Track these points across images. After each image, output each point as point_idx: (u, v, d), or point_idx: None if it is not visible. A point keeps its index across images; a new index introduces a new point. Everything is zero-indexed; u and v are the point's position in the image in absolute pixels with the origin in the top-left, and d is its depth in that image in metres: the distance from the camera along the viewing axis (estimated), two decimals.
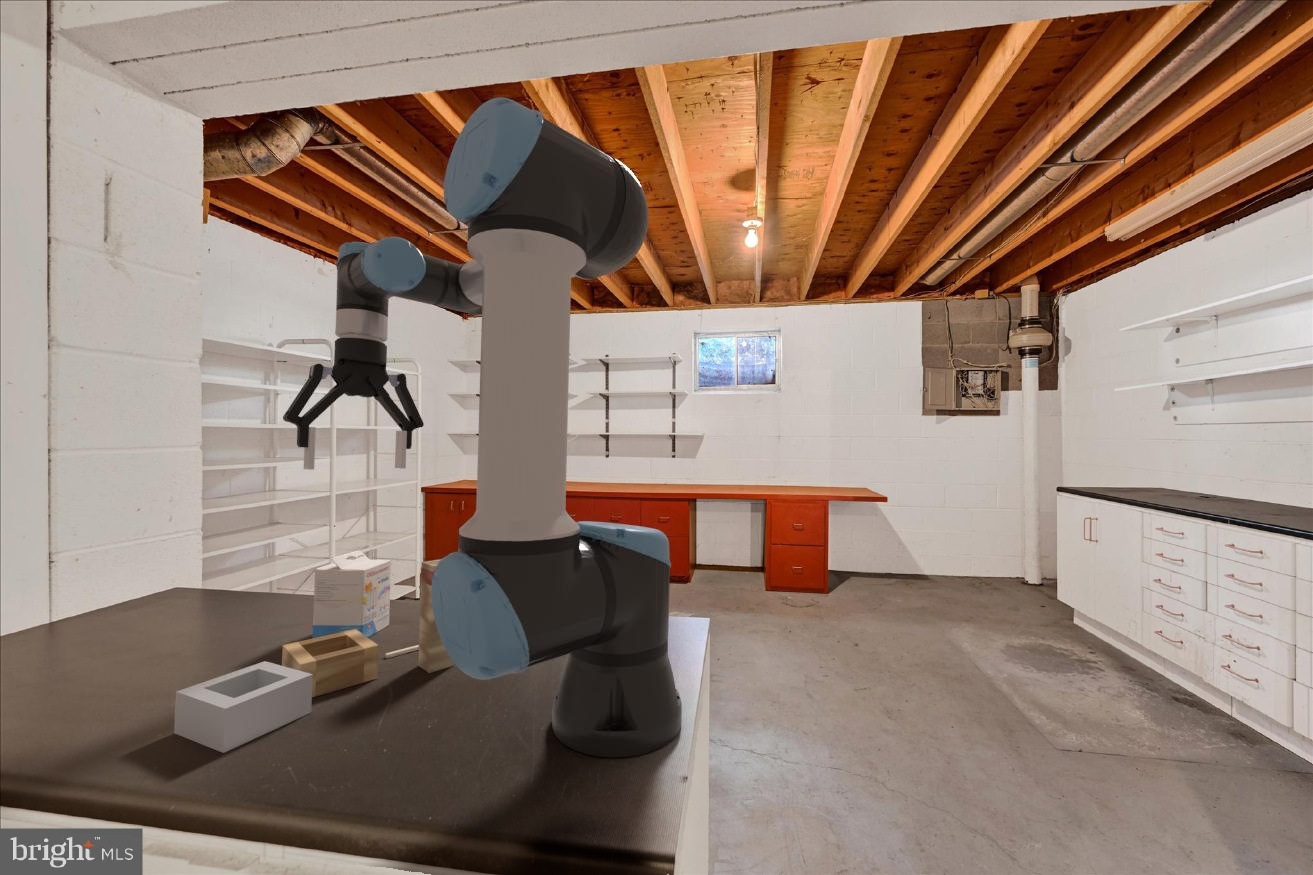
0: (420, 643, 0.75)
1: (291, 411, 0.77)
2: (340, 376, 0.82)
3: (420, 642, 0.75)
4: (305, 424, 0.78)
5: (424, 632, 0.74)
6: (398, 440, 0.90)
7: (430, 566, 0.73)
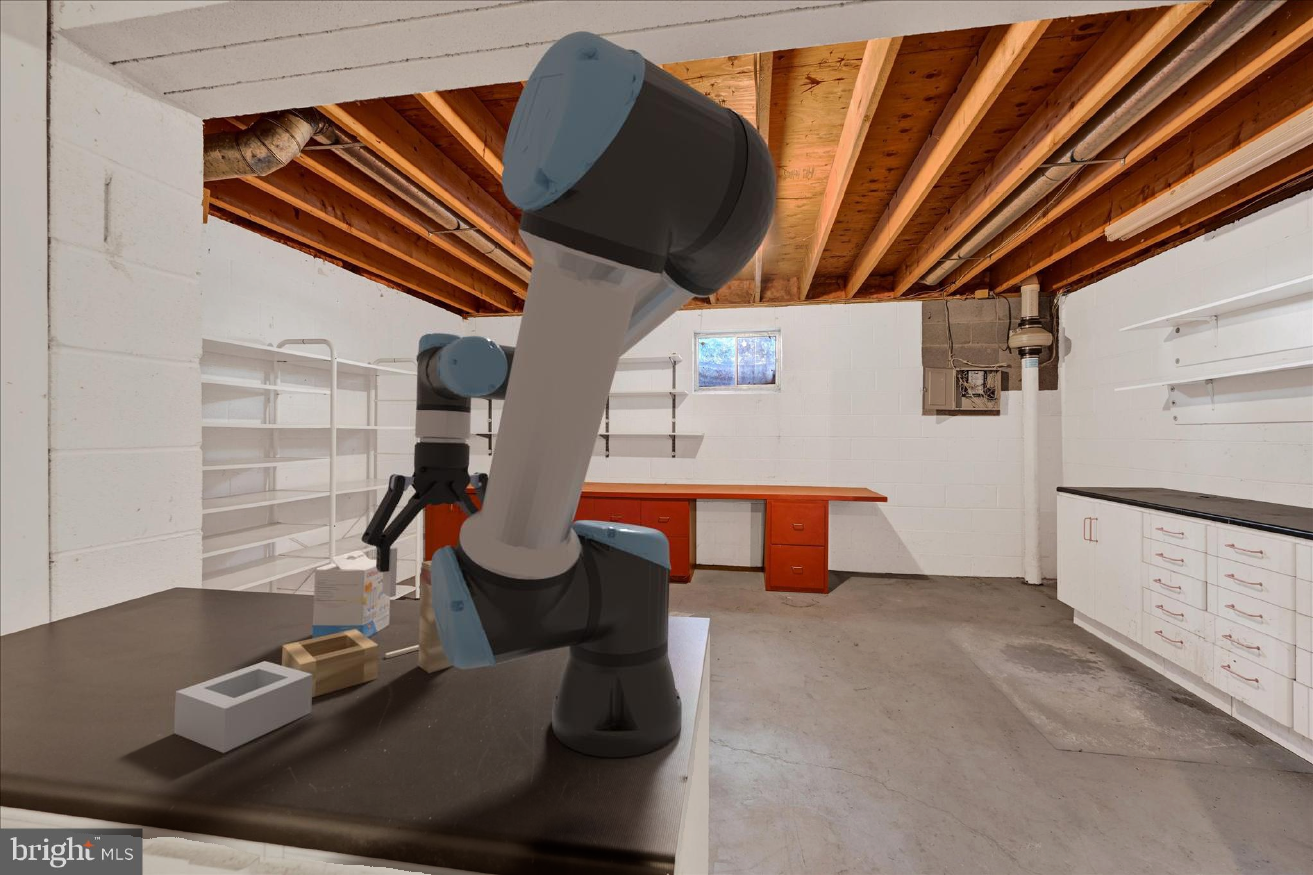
0: (420, 643, 0.75)
1: (372, 534, 0.68)
2: (422, 486, 0.73)
3: (420, 642, 0.75)
4: (386, 546, 0.69)
5: (424, 632, 0.74)
6: None
7: (430, 566, 0.73)
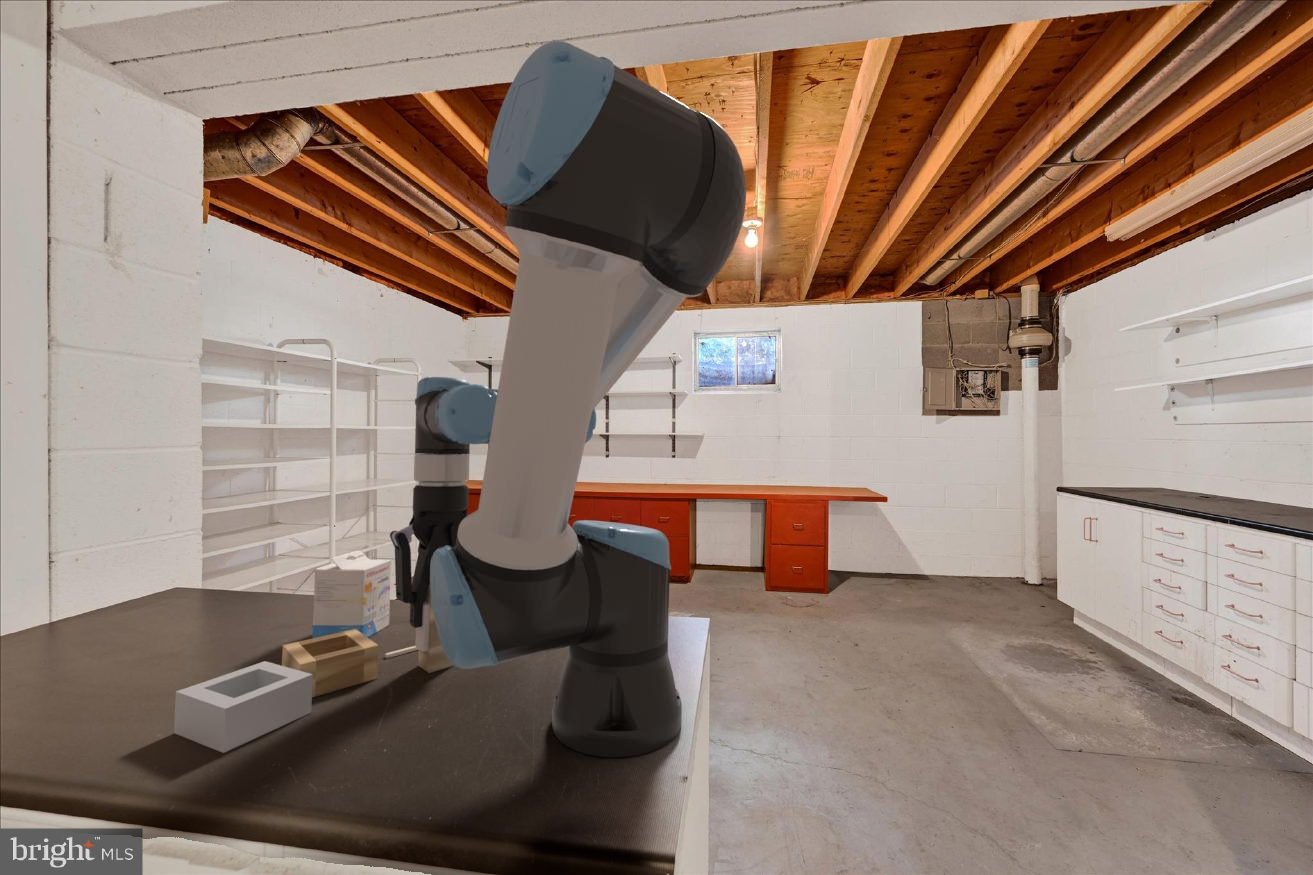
0: None
1: (403, 593, 0.70)
2: (424, 530, 0.73)
3: None
4: (421, 602, 0.72)
5: None
6: None
7: None
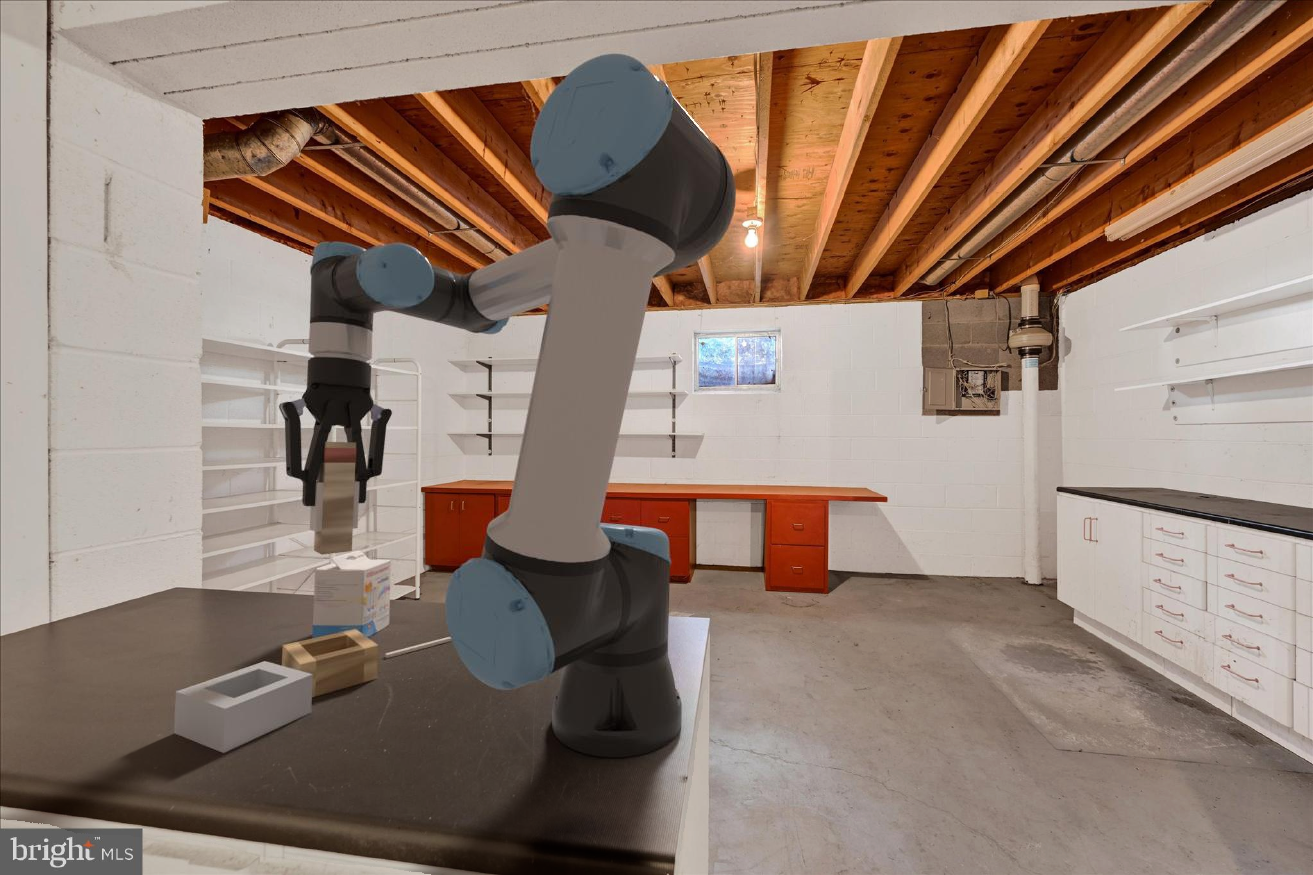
0: None
1: (292, 467, 0.66)
2: (317, 403, 0.68)
3: None
4: (313, 479, 0.68)
5: None
6: None
7: None
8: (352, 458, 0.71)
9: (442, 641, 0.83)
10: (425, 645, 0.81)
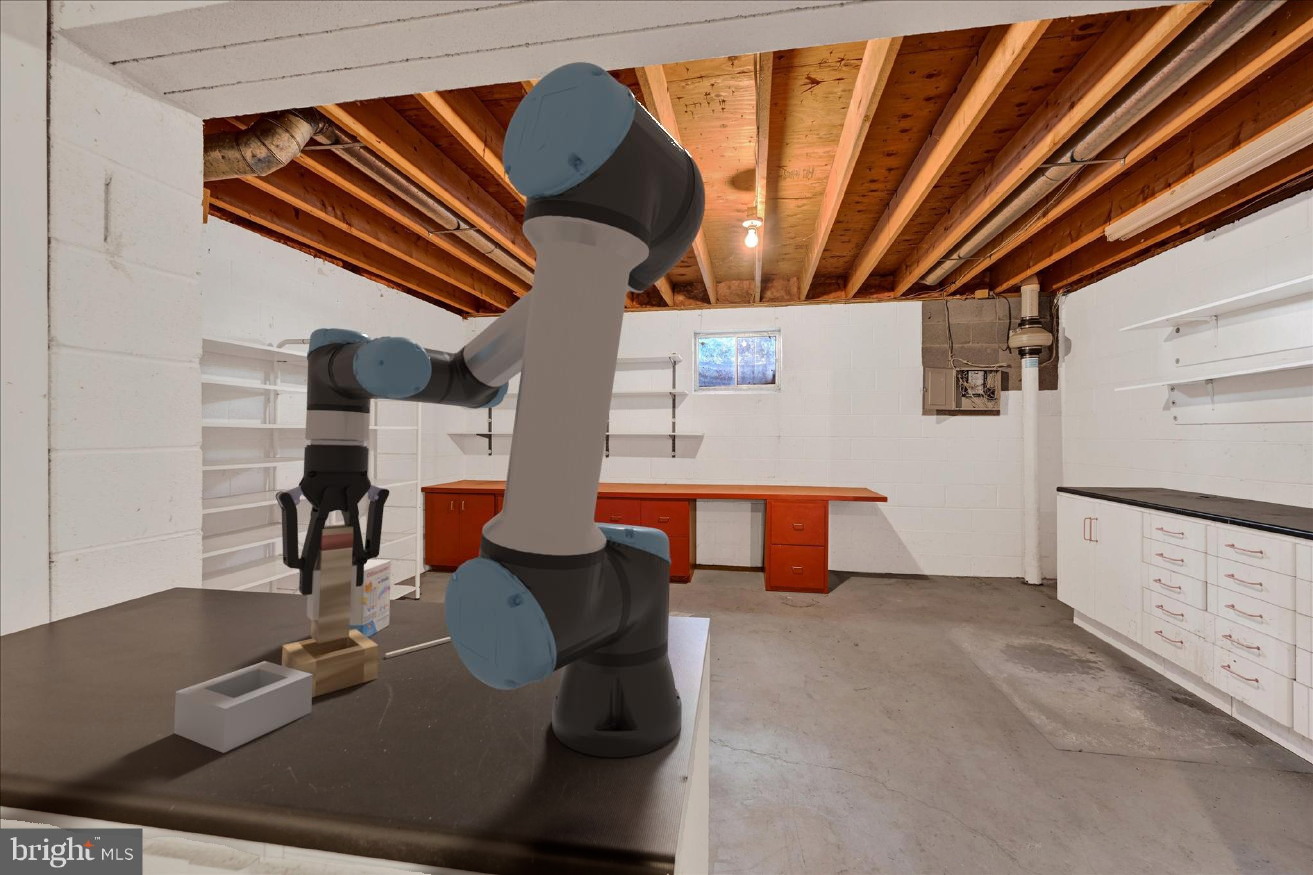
0: None
1: (288, 558, 0.66)
2: (314, 491, 0.68)
3: None
4: (310, 568, 0.68)
5: None
6: None
7: None
8: (349, 543, 0.70)
9: (442, 641, 0.83)
10: (425, 645, 0.81)
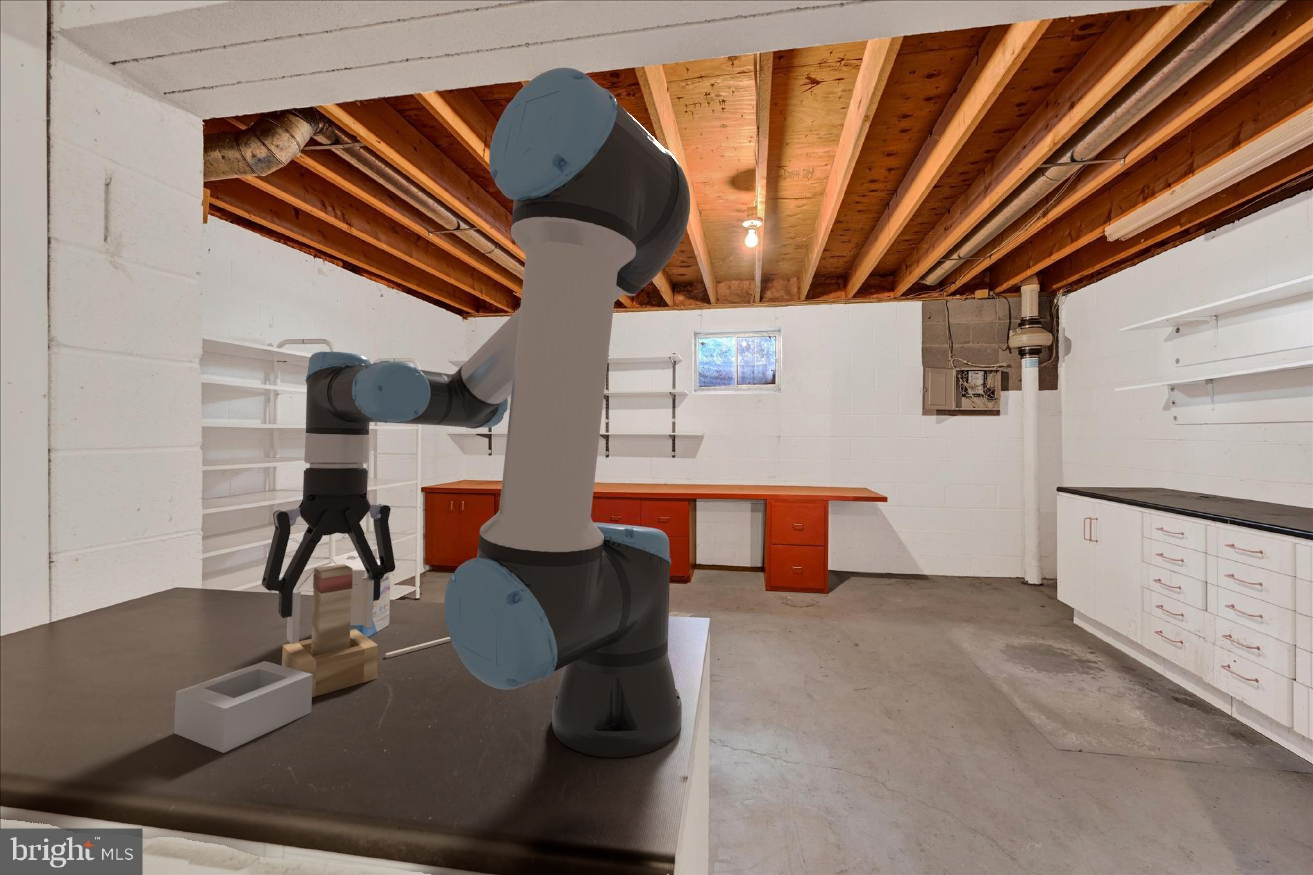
0: (312, 654, 0.70)
1: (268, 579, 0.64)
2: (311, 515, 0.68)
3: (312, 653, 0.70)
4: (289, 590, 0.66)
5: (315, 643, 0.69)
6: (363, 591, 0.73)
7: (320, 572, 0.68)
8: (348, 585, 0.70)
9: (442, 641, 0.83)
10: (425, 645, 0.81)
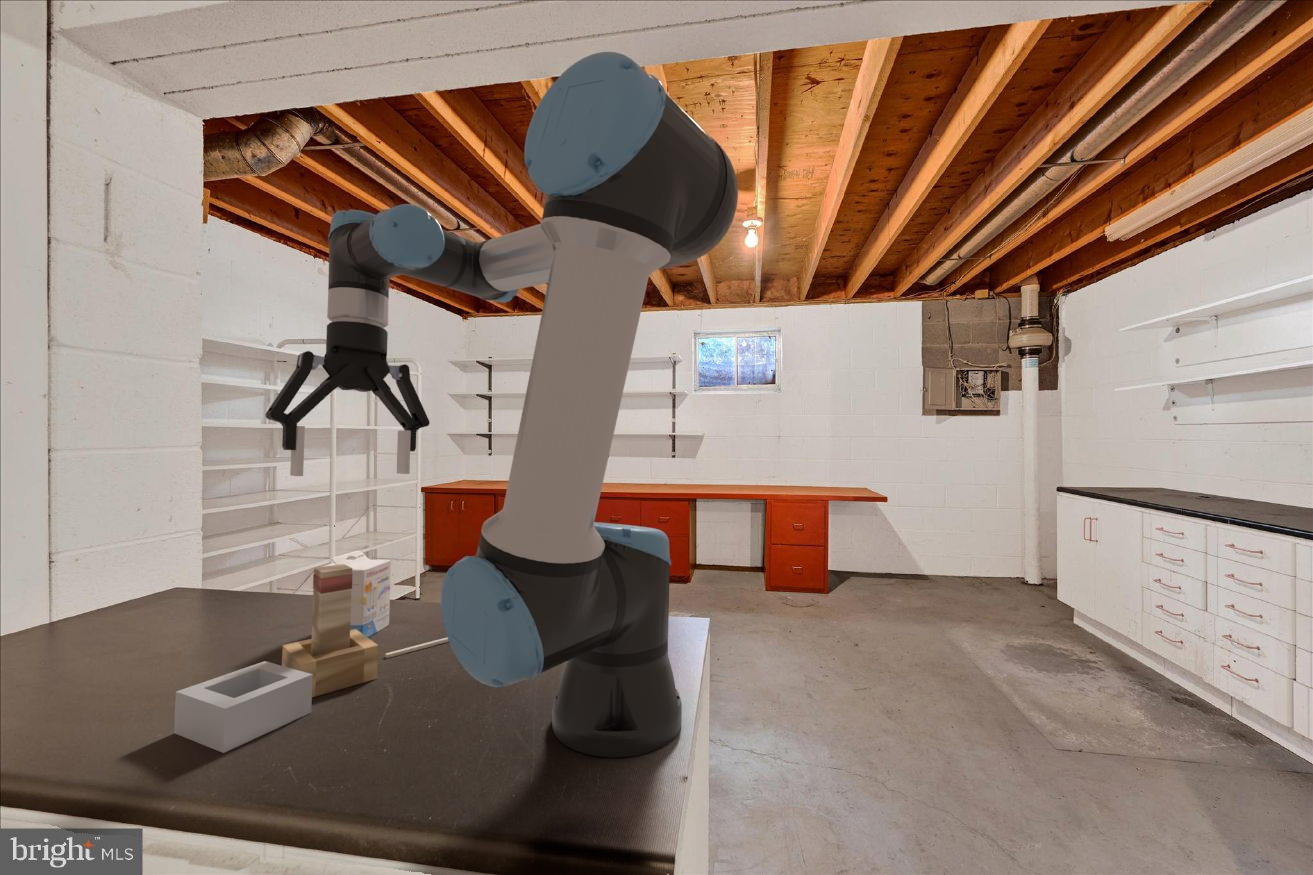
0: (312, 654, 0.70)
1: (275, 407, 0.65)
2: (333, 366, 0.70)
3: (312, 653, 0.70)
4: (292, 422, 0.66)
5: (315, 643, 0.69)
6: (400, 441, 0.78)
7: (320, 572, 0.68)
8: (348, 585, 0.70)
9: (442, 641, 0.83)
10: (425, 645, 0.81)
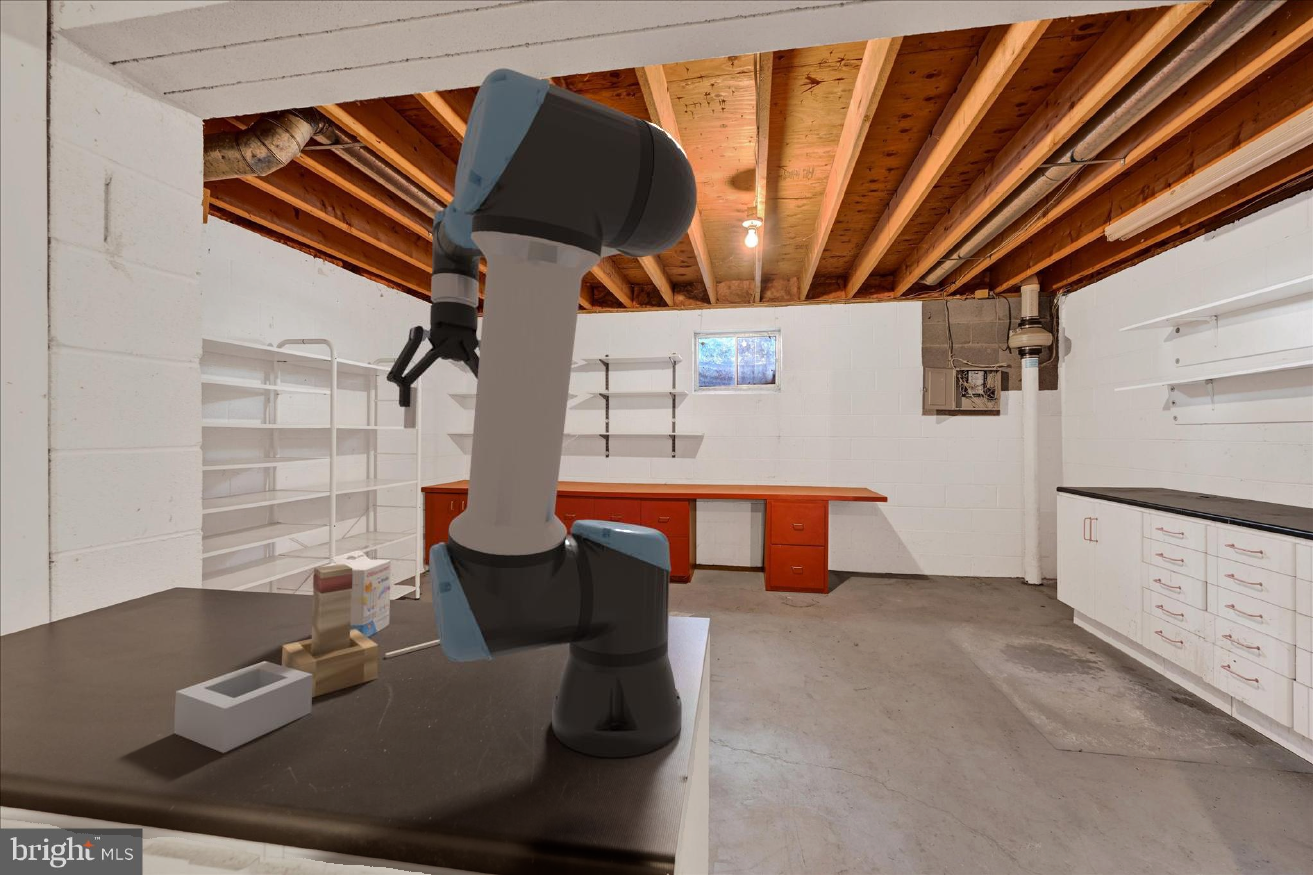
0: (312, 654, 0.70)
1: (396, 371, 0.79)
2: (437, 339, 0.84)
3: (312, 653, 0.70)
4: (408, 384, 0.81)
5: (315, 643, 0.69)
6: None
7: (320, 572, 0.68)
8: (348, 585, 0.70)
9: None
10: (425, 645, 0.81)
